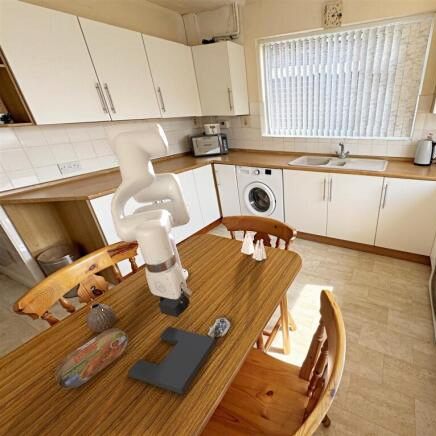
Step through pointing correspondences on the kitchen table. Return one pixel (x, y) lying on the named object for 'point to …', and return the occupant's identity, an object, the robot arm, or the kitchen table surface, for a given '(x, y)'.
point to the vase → (100, 317)
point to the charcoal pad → (176, 361)
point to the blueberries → (219, 328)
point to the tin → (91, 358)
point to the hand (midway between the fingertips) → (175, 306)
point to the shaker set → (249, 248)
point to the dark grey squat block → (170, 306)
